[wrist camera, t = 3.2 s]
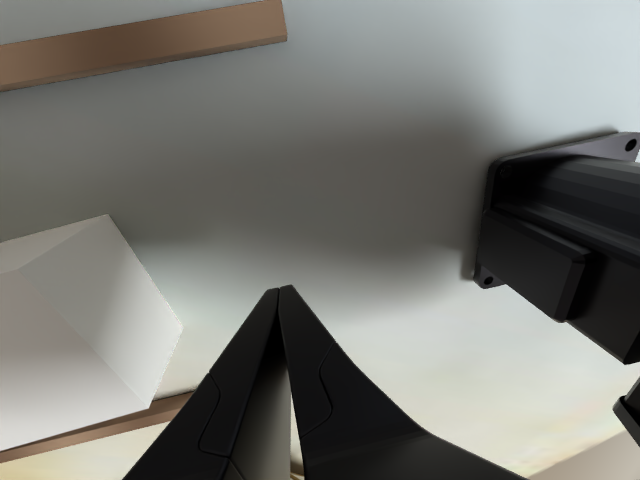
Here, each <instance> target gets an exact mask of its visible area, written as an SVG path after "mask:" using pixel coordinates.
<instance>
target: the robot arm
mask: <svg viewBox="0 0 640 480" xmlns="http://www.w3.org/2000/svg"><path fill="white" fill-rule="evenodd" d="M639 149H640V133H638V132H621V133H616V134H611V135H606V136H602V137H597V138H592V139H587V140H583V141H578V142H573V143H568V144H564V145H559V146H554V147H549V148H545V149H540V150H535V151H531V152H526V153H521V154H516V155H512V156H507V157H502V158H499V159H497V160H495V161H494V162H493V163H492V164H491V166H490V167H489V170H488V174H487V182H486V189H485V197H484V205H483V212H482V220H481V228H480V235H479V243H478V251H477V258H476V266H475V274H474V282H475V283H476V284H477V285H478V286H480V287H481V288H483V289H488V288H492V287H496V286H500V285H505V284H507V285H508V286H509V287H511V288H512V289H513V290H515V291H516V292H517V293H519V294H520V295H521V296H523V297H524V298H525V299H526V300H528V301H529V302H530V303H532V304H533V305H534V306H536V307H537V308H538V309H540V310H541V311H542V312H544V313H545V314H546V315H547V316H549V317H550V318H551V319H553V320H554V321H556V322H558V323H564V322H567V323H569V324H570V325H571V326H573V327H574V328H575V329H577V330H578V331H580V332H581V333H582V334H584V335H585V336H586V337H588V338H589V339H590V340H592V341H593V342H595V343H596V344H597V345H599V346H600V347H601V348H603V349H604V350H605V351H607V352H608V353H609V354H611V355H612V356H614V357H615V358H616V359H618V360H619V361H620V362H622V363H623V364H624V365H627V364H632V363H636V362H640V163H638V162H635V160H636V157H637V154H638V152H639ZM504 167H505V170H504V172H503V173H502V174H500V173H501V170H502V169H503V168H504ZM291 393H292V399H293V405H294V411H295V417H296V423H297V429H298V434H299V440H300V446H301V452H302V459H303V468H304V480H529V479H526V478H524V477H522V476H520V475H518V474H516V473H514V472H511V471H509V470H507V469H505V468H503V467H501V466H499V465H497V464H494V463H492V462H490V461H488V460H486V459H484V458H482V457H480V456H477V455H475V454H473V453H471V452H469V451H467V450H465V449H463V448H461V447H458V446H456V445H454V444H452V443H450V442H448V441H446V440H444V439H441V438H439V437H437V436H435V435H433V434H432V433H430V432H428V431H427V430H425V429H424V428H423V427H421V426H420V425H419V424H417V423H416V422H415V421H414V420H412V419H411V418H410V417H409V416H408V415H407V414H406V413H405V412H404V411H403V410H402V409H400V408H399V407H398V406H397V405H396V404H395V403H394V402H393V401H392V400H391V399H390V398H389V397H388V396H387V395H386V394H385V393H384V392H383V391H382V390H381V389H380V388H378V387H377V386H376V385H375V384H374V383H373V382H372V381H371V380H370V379H369V378H368V377H367V376H366V375H365V374H364V373H363V372H362V371H361V370H360V369H359V368H358V367H357V366H356V365H355V364H354V363H353V361H352V360H351V359H350V358H349V357H348V355H347V354H346V353H345V352H344V351H343V349H342V348H341V347H340V346H339V344H338V343H336V341H335V339H334V338H333V337H332V336H331V334H330V333H329V332H328V330H327V329H326V328H325V327H324V325H323V324H322V323H321V321H320V320H319V319H318V318H317V316H316V315H315V314H314V312H313V311H312V310H311V309H310V307H309V306H308V305H307V303H306V302H305V301H304V300H303V298H302V297H301V296H300V294H299V293H298V292H297V291H296V289H295V288H294V287H293V285H286V286H282V287H280V289H279V288H273V289H268V290H267V291H266V292H265V293H264V295H263V296H262V297H261V299H260V300H259V302H258V303H257V304H256V306H255V307H254V309H253V310H252V311H251V313H250V314H249V316H248V317H247V318H246V320H245V321H244V323H243V324H242V325H241V327H240V328H239V330H238V331H237V332H236V334H235V335H234V337H233V338H232V339H231V341H230V342H229V344H228V345H227V346H226V348H225V349H224V351H223V352H222V354H221V355H220V356H219V358H218V359H217V361H216V362H215V363H214V365H213V366H212V368H211V369H210V370H209V373H207V374H206V376H205V377H204V379H203V380H202V381H201V383H200V384H199V386H198V387H197V388H196V390H195V391H194V392H193V394H192V395H191V396H190V398H189V399H188V400H187V402H186V403H185V404H184V406H183V407H182V408H181V409H180V411H179V412H178V413H177V414H176V415H175V417H174V418H173V419H172V420H171V422H170V423H169V424H168V425H167V427H166V428H165V429H164V430H163V431H162V433H161V434H160V435H159V436H158V437H157V439H156V440H155V441H154V442H153V443H152V445H151V446H150V447H149V448H148V449H147V451H146V452H145V453H144V454H143V455H142V456H141V458H140V459H139V460H138V461H137V462H136V464H135V465H134V466H133V467H132V468H131V470H130V471H129V472H128V473H127V474H126V476H125V477H124V478H123V479H122V480H290V437H291ZM613 411H614V413H615V414H616V416H617V417H618V418H619V420H620V421H621V423H622V424H623V425H624V427H625V428H626V429H627V431H628V432H629V433H630V435H631V436H632V437H633V439H634V440H635V441H636V443H637V444H638V446H639V447H640V377H639V378H638V380H637V381H636V383H635V384H634V385H633V387H632V388H631V390H630V391H629V392H628V394H627V395H625V396H621V397H619V399H618V400H617V402H616V403H615V404H614V406H613Z"/></svg>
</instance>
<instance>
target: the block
mask: <svg viewBox="0 0 640 480" xmlns="http://www.w3.org/2000/svg"><path fill="white" fill-rule="evenodd" d="M183 328H184V327H183V326H182V324H181V323H180V321H179V320H178V318H177V317H176V315H175V314H174V312H173V311H172V309H171V308H170V306H169V305H168V303H167V302H166V300H165V299H164V297H163V296H162V294H161V293H160V291H159V290H158V288H157V287H156V285H155V284H154V282H153V281H152V279H151V278H150V276H149V275H148V273H147V272H146V270H145V269H144V267H143V266H142V264H141V263H140V261H139V260H138V258H137V257H136V255H135V254H134V252H133V251H132V249H131V248H130V246H129V245H128V243H127V242H126V240H125V239H124V237H123V236H122V234H121V233H120V231H119V229H118V228H117V226H116V225H115V223H114V222H113V220H112V219H111V217H110V216H109V214H105V215H102V216H98V217H94V218H90V219H87V220H83V221H79V222H75V223H72V224H68V225H64V226H60V227H57V228H53V229H49V230H45V231H42V232H38V233H34V234H30V235H27V236H23V237H19V238H15V239H12V240H8V241H4V242H0V451H2V450H5V449H9V448H12V447H16V446H19V445H23V444H26V443H30V442H33V441H37V440H40V439H44V438H47V437H51V436H54V435H58V434H61V433H65V432H68V431H71V430H75V429H78V428H82V427H85V426H89V425H92V424H96V423H99V422H103V421H106V420H110V419H113V418H117V417H120V416H124V415H127V414H131V413H134V412H138V411H141V410H145V409H148V408H149V406H150V404H151V402H152V399H153V397H154V395H155V392H156V390H157V388H158V385H159V383H160V381H161V379H162V376H163V374H164V372H165V369H166V367H167V365H168V362H169V360H170V358H171V355H172V353H173V351H174V348H175V346H176V344H177V342H178V339H179V337H180V335H181V332H182V330H183Z"/></svg>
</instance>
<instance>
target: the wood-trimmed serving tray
mask: <svg viewBox="0 0 640 480" xmlns="http://www.w3.org/2000/svg"><path fill="white" fill-rule="evenodd" d="M283 41H287V30H286V24H285V19H284V13H283V8H282V2H281V0H265V1H259V2H253V3H247V4H241V5H235V6H229V7H223V8H217V9H211V10H206V11H200V12H194V13H188V14H182V15H176V16H170V17H164V18H158V19H152V20H147V21H141V22H135V23H129V24H123V25H117V26H111V27H105V28H99V29H93V30H87V31H82V32H76V33H70V34H64V35H58V36H52V37H46V38H40V39H34V40H28V41H23V42H17V43H11V44H5V45H0V92H3V91H9V90H14V89H20V88H25V87H31V86H37V85H42V84H48V83H53V82H59V81H65V80H70V79H76V78H82V77H87V76H93V75H98V74H104V73H110V72H115V71H121V70H126V69H132V68H138V67H143V66H149V65H154V64H160V63H166V62H171V61H177V60H182V59H188V58H194V57H199V56H205V55H211V54H216V53H222V52H227V51H233V50H239V49H244V48H250V47H255V46H261V45H267V44H272V43H278V42H283ZM192 394H193V392H190V393H186V394H182V395H178V396H174V397H170V398H166V399H161V400H157V401H153V402H151V404H150V406H149V408H148V409H145V410H141V411H138V412H134V413H131V414H127V415H124V416H120V417H117V418H113V419H110V420H106V421H103V422H99V423H96V424H92V425H89V426H85V427H82V428H78V429H75V430H71V431H68V432H65V433H61V434H58V435H54V436H51V437H47V438H44V439H40V440H37V441H33V442H30V443H26V444H23V445H19V446H16V447H12V448H9V449H5V450H2V451H0V463H3V462H7V461H11V460H15V459H19V458H23V457H28V456H32V455H36V454H40V453H44V452H48V451H52V450H56V449H60V448H64V447H68V446H72V445H76V444H80V443H84V442H88V441H92V440H96V439H100V438H104V437H108V436H112V435H116V434H120V433H124V432H128V431H132V430H136V429H140V428H144V427H148V426H152V425H156V424H160V423H164V422H168V421H171V420H172V419H173V418H174V417H175V415H176V414H177V413H178V412H179V411H180V409H181V408H182V407H183V406H184V404H185V403H186V402H187V400H188V399H189V398H190V396H191V395H192Z"/></svg>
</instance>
